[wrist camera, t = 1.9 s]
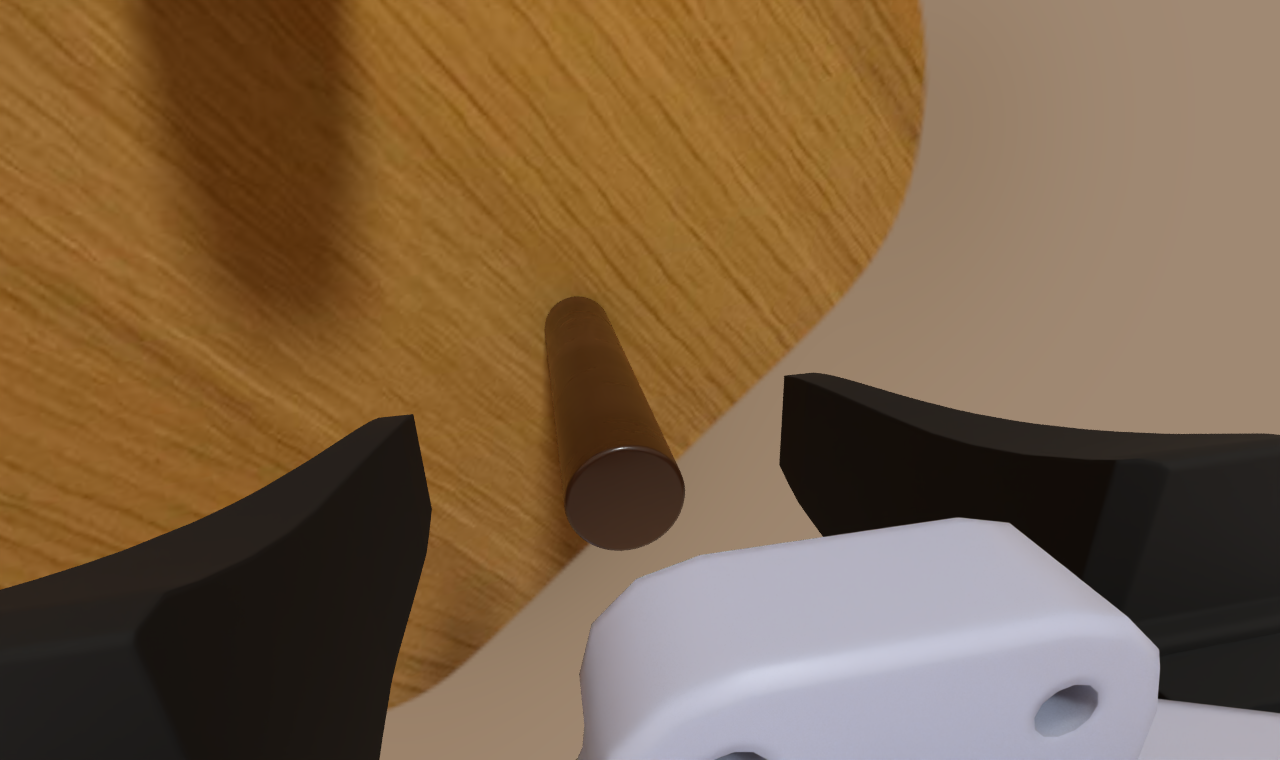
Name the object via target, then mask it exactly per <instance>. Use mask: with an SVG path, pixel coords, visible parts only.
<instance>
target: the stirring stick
mask: <svg viewBox="0 0 1280 760" xmlns="http://www.w3.org/2000/svg"><path fill="white" fill-rule="evenodd" d="M545 335H546V344H547V353H548V362H549V371H550V380H551V389H552V399H553V408H554V417H555V426H556V435H557V444H558V453H559V462H560V472H561V481H562V490H563V499H564V508H565V513H566V516H567V519H568V521H569V523H570V525H571V527H572V528H573V529H574V531H575V532H576V533H577V534H578V535H579V536H580V537H581V538H583V539H584V540H585V541H587V542H588V543H590V544H592V545H594V546H597V547H599V548H603V549H607V550H617V551H622V550H631V549H636V548H639V547H642V546H645V545H647V544H650V543H652V542H653V541H655V540H657V539H658V538H660V537H661V536H662V535H664V533H666V532H667V531H668V530H669V529H670V528H671V526H672V525H673V524H674V523H675V521H676V520H677V518H678V516H679V514H680V512H681V509H682V506H683V503H684V497H685V488H684V487H685V486H684V481H683V477H682V475H681V472H680V470H679V468H678V466H677V464H676V462H675V459H674V457H673V455H672V453H671V451H670V449H669V447H668V445H667V442H666V440H665V438H664V436H663V434H662V432H661V430H660V428H659V425H658V423H657V421H656V419H655V417H654V415H653V413H652V410H651V408H650V406H649V404H648V402H647V400H646V398H645V396H644V393H643V391H642V389H641V387H640V385H639V383H638V381H637V379H636V376H635V374H634V372H633V370H632V368H631V366H630V364H629V362H628V359H627V357H626V355H625V353H624V351H623V349H622V347H621V345H620V342H619V340H618V338H617V336H616V334H615V332H614V330H613V327H612V325H611V323H610V321H609V319H608V317H607V315H606V313H605V311H604V310H603V308H602V307H601V306H600V305H599V304H598V303H596V302H595V301H593V300H591V299H588V298H585V297H570V298H567V299H564V300H562V301H560V302H559V303H557V304H556V305H555V306H554V307H553V308H552V309H551V311H550V312H549V314H548V316H547V318H546V322H545Z"/></svg>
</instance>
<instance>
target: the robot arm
mask: <svg viewBox="0 0 1280 760" xmlns="http://www.w3.org/2000/svg"><path fill="white" fill-rule="evenodd" d="M780 467H781V469H782V471H783V473H784V475H785V477H786V479H787V482H788V484H789V486H790V488H791V489H792V491H793V493H794V495H795V497H796V499H797V500H798V502H799V504H800V505H801V507H802V508H803V510H804V511H805V512H806V514H807V515H808V517H809V518H810V519H811V521H812V522H813V524H814V525H815V526H816V528H817V529H818V530H819V532H820V533H821V534H822V536H823V537H820V538H813V539H807V540H800V541H793V542H786V543H779V544H772V545H766V546H759V547H752V548H746V549H738V550H732V551H725V552H718V553H711V554H705V555H699V556H696V557H694V558H691V559H688V560H685V561H683V562H680V563H677V564H675V565H672V566H669V567H667V568H664V569H661V570H659V571H656V572H653V573H650V574H648V575H645V576H642V577H640V578H637V579H636V580H635V581H634V582H633V583H632V584H631V585H630V586H629V587H628V588H627V589H626V590H625V591H624V592H623V593H622V594H621V595H620V596H619V597H618V598H617V599H616V600H615V601H614V602H613V603H612V604H611V605H610V606H609V607H608V608H607V609H606V610H605V611H604V612H603V613H602V614H601V615H600V616H599V617H598V618H597V619H596V620H595V621H594V622H593V623H592V625H591V629H590V633H589V637H588V641H587V645H586V649H585V653H584V658H583V662H582V666H581V670H580V674H579V675H580V685H581V695H582V705H583V714H584V737H583V748H582V750H581V752H580V754H579V756H578V758H577V759H576V760H1280V435H1274V434H1156V433H1155V434H1154V433H1133V432H1114V431H1099V430H1087V429H1086V430H1085V429H1076V428H1067V427H1059V426H1050V425H1040V424H1033V423H1026V422H1019V421H1013V420H1007V419H1002V418H996V417H991V416H985V415H979V414H974V413H970V412H965V411H960V410H956V409H952V408H947V407H944V406H940V405H936V404H932V403H927V402H924V401H920V400H916V399H913V398H909V397H906V396H902V395H899V394H895V393H892V392H888V391H885V390H882V389H878V388H875V387H872V386H868V385H865V384H862V383H858V382H855V381H851V380H847V379H844V378H840V377H836V376H831V375H827V374H821V373H806V374H797V375H787V376H784V393H783V410H782V428H781V446H780ZM431 511H432V508H431V503H430V497H429V492H428V487H427V482H426V477H425V472H424V467H423V462H422V457H421V452H420V447H419V441H418V436H417V431H416V426H415V421H414V416H413V414H411V415H401V416H392V417H382V418H377V419H375V420H372V421H370V422H368V423H367V424H365V425H363V426H362V427H360V428H358V429H357V430H355V431H354V432H352V433H350V434H349V435H347V436H346V437H344V438H343V439H341V440H340V441H338V442H337V443H335V444H334V445H332V446H330V447H329V448H327V449H326V450H324V451H323V452H321V453H320V454H318V455H317V456H315V457H314V458H312V459H310V460H309V461H307V462H306V463H304V464H302V465H301V466H299V467H297V468H296V469H294V470H292V471H291V472H289V473H287V474H285V475H284V476H282V477H280V478H279V479H277V480H275V481H274V482H272V483H270V484H269V485H267V486H265V487H264V488H262V489H260V490H258V491H256V492H254V493H253V494H251V495H249V496H247V497H245V498H243V499H241V500H239V501H237V502H235V503H233V504H231V505H229V506H227V507H225V508H223V509H221V510H219V511H217V512H215V513H212V514H210V515H208V516H206V517H204V518H202V519H200V520H197V521H195V522H193V523H191V524H188V525H186V526H183V527H181V528H178V529H176V530H173V531H171V532H168V533H166V534H163V535H161V536H158V537H156V538H153V539H151V540H148V541H146V542H143V543H141V544H138V545H136V546H134V547H131V548H129V549H126V550H123V551H120V552H118V553H115V554H112V555H109V556H106V557H103V558H100V559H97V560H95V561H92V562H89V563H86V564H83V565H80V566H77V567H74V568H71V569H68V570H64V571H61V572H58V573H55V574H52V575H49V576H45V577H42V578H39V579H36V580H33V581H29V582H26V583H22V584H19V585H16V586H12V587H9V588H5V589H2V590H0V760H379V758H380V751H381V744H382V737H383V731H384V725H385V719H386V713H387V707H388V701H389V694H390V688H391V683H392V678H393V674H394V669H395V665H396V661H397V657H398V653H399V650H400V646H401V643H402V639H403V636H404V632H405V629H406V625H407V621H408V618H409V614H410V611H411V607H412V604H413V600H414V597H415V593H416V590H417V586H418V583H419V579H420V575H421V572H422V568H423V564H424V561H425V557H426V553H427V545H428V538H429V530H430V520H431Z"/></svg>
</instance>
